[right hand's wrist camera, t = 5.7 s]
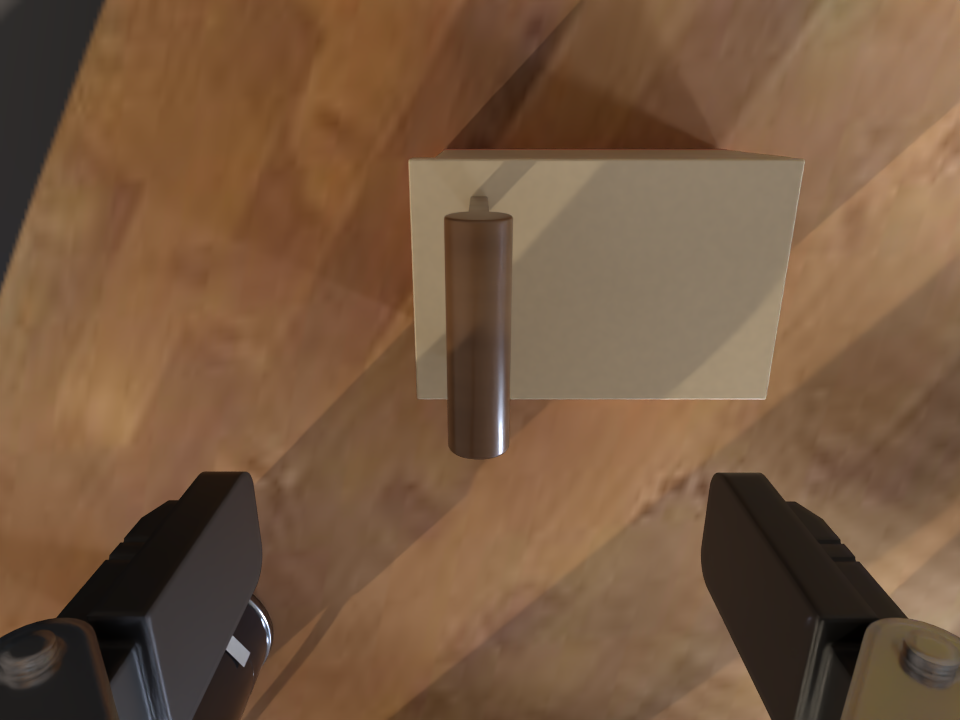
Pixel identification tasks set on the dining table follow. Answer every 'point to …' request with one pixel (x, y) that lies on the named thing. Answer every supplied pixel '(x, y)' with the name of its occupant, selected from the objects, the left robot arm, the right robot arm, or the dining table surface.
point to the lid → (594, 281)
